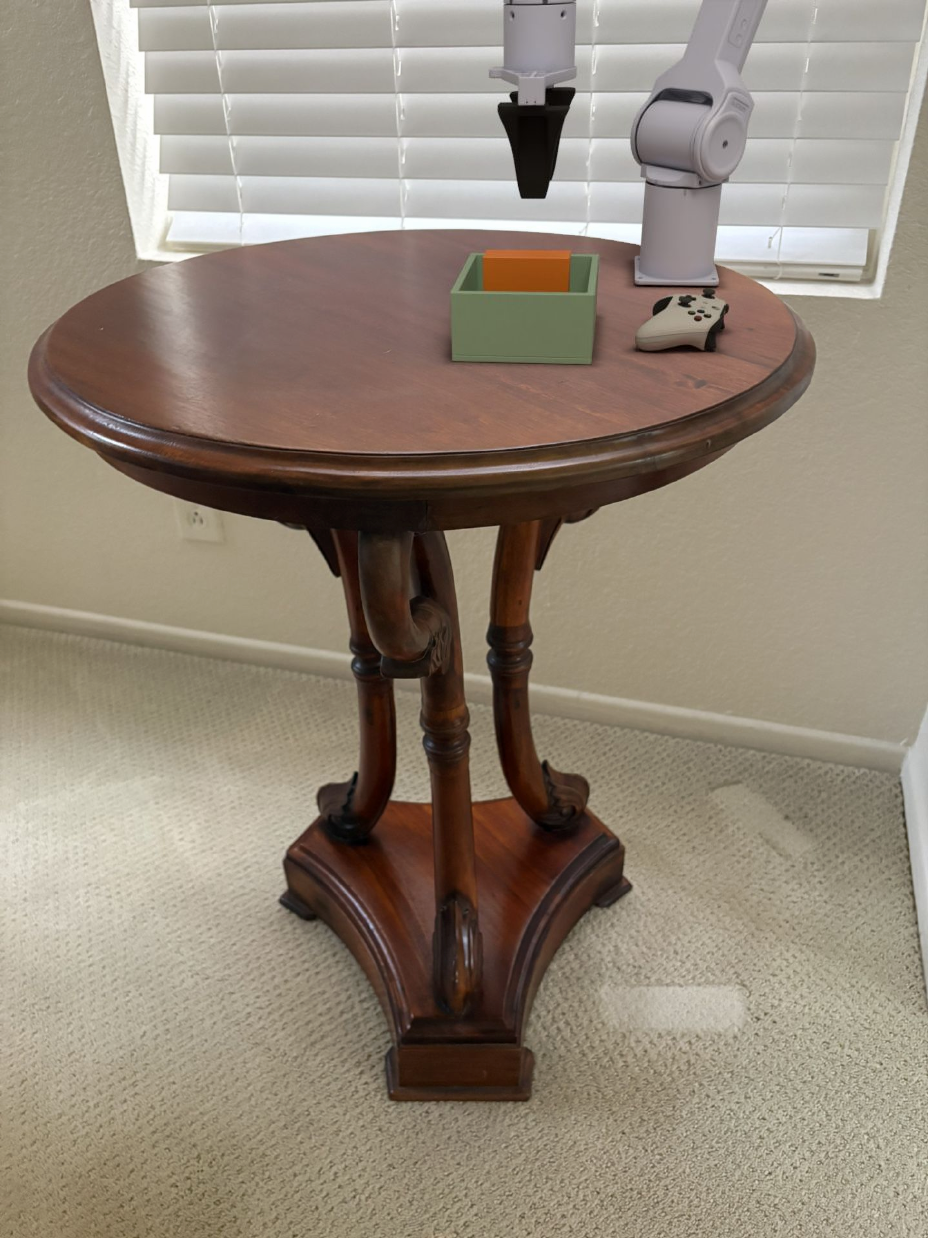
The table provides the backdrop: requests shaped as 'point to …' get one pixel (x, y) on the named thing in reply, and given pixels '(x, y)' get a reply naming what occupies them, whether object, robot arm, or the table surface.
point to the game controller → (683, 322)
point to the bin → (525, 318)
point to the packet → (526, 270)
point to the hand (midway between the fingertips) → (537, 188)
